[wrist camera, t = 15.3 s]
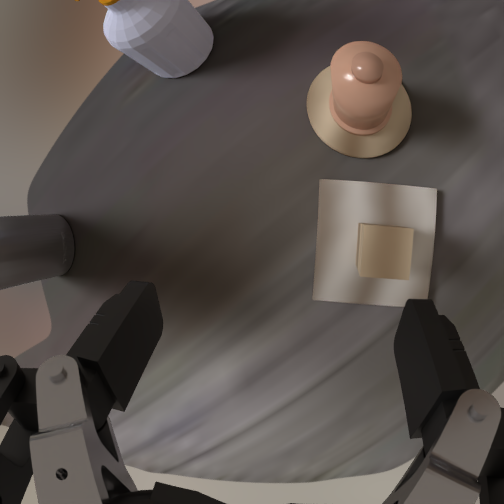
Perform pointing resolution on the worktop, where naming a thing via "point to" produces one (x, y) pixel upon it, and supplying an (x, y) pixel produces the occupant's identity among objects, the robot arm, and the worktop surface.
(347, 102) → the lidded jar
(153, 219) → the worktop surface
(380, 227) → the white display stand
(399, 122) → the mat
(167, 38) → the soap bottle
